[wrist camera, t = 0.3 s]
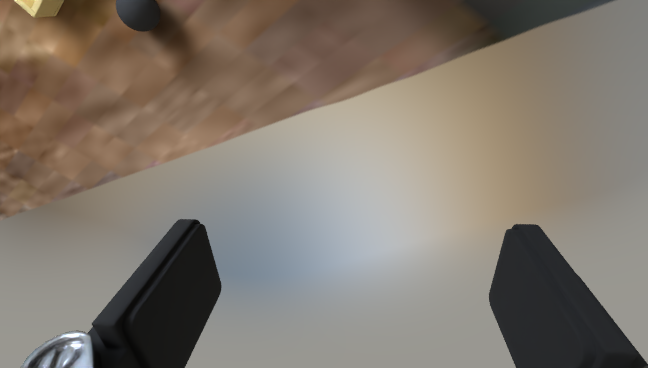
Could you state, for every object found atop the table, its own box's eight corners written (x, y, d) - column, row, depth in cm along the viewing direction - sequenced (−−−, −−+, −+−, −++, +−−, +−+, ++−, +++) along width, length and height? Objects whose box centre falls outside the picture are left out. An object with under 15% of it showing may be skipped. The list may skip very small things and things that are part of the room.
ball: (126, -11, 35) (100, -12, 32) (161, -13, 35) (139, -14, 31) (138, 30, 37) (115, 33, 34) (171, 29, 37) (151, 32, 33)
